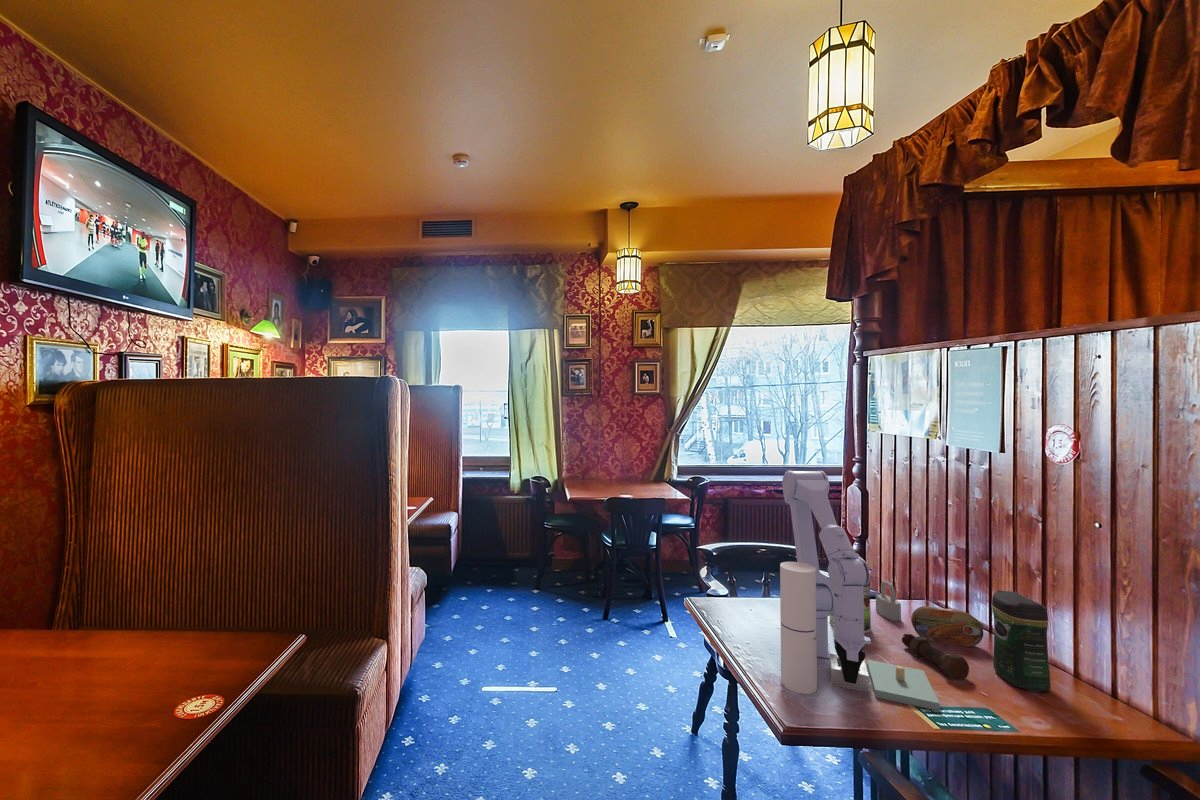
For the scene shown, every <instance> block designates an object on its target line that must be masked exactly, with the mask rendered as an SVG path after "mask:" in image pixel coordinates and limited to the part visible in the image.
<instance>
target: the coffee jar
mask: <svg viewBox="0 0 1200 800" xmlns="http://www.w3.org/2000/svg"><path fill="white" fill-rule="evenodd" d="M991 608H992V614H993V625H994V626H993V633H994V634H993V662H992V663H993V670H994V671H995V672H996V673H997V674H998V676H1000V677H1001V678H1002V679H1003V680H1005V681H1007V683H1009V684H1011V685H1012V686H1014V687H1018V688H1021V689H1025V690H1028V691H1031V692H1034V693H1035V692H1037V693H1039V692H1040V693H1042V692H1047V691H1050V690H1051V673H1050V664H1049V652H1048V651H1049V650H1048V634H1047V632H1048V626H1049V615H1048V609H1047V607H1046V606H1045V605H1042V604H1041V603H1039V602H1036V601H1035V600H1033V599H1031V598H1029V597H1026V596H1025V595H1023V594H1021V593H1019V592H1018V591H1010V590H1009V591H1008V590H997V591H995V592H994V593H993V594H992V598H991Z"/></svg>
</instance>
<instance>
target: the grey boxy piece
mask: <svg viewBox="0 0 1200 800" xmlns="http://www.w3.org/2000/svg"><path fill="white" fill-rule="evenodd" d="M829 672H830V676H829V677H830V681H831V686H835V687H840V688H844V689H847V690H853V691H857V692H862V693H867V694H869V693H870V676H869V672H868V669H867V663H866V661H865V659H864V660H863V662H862V664H861V666H860V668H859V673H858V677H857V681H856V684H853V683H849V682H845V680H844V677H843V672H842V666H841V662H840V659H839V657H838V655H837V653H830V659H829Z"/></svg>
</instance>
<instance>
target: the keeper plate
mask: <svg viewBox="0 0 1200 800" xmlns="http://www.w3.org/2000/svg"><path fill="white" fill-rule="evenodd" d="M866 668H867V671H868V675H869V680H870V683H871V686H872V690H873V693H874V694H873V695H874V698H879V699H882V700H888V701H891V702H896V703H901V704H904V705H905V704H906V705H910V706H916V707H919V708H925V709H928V710H932V711H938V712H941V704H940V703H941V702H940V701H939V699H938V697H937V695H936V692H935V691H934V689H933V687H932V684H931V683H930V681H929V679H928V677H927V674H926V673H925V671H924V669H923V670H922V669H917V668H913V667H908V666H902V665H896V664H892V663H888V662H882V661H876V660H871V659H866Z"/></svg>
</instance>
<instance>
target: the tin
mask: <svg viewBox="0 0 1200 800" xmlns="http://www.w3.org/2000/svg"><path fill="white" fill-rule="evenodd" d="M910 617H911V619H910V621H911V624H912V625H911V626H912V627H913V630H914V631H915V633H916V634H917V635H918V637H924V638H926V639H927V640H928V641H929V642H931V643H935V644H936V643H938V644H943V645H944V644H945V645H951V646H959V647H964V648H970V647H974V646H975V647H976V646H977V645H978V644H980V643H981V641H982V639H984V629H983V626H982V624H981V622H980V621H979V620H978V619H977V618H976V617H974V615H972V614H971V613H968V612H966V611H963V610H959V609H951V608H942V607H935V606H934V607H933V606H923V605H922V606H920V607H918V608H916V609H915V610H914V611H913V613H911V615H910Z"/></svg>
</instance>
